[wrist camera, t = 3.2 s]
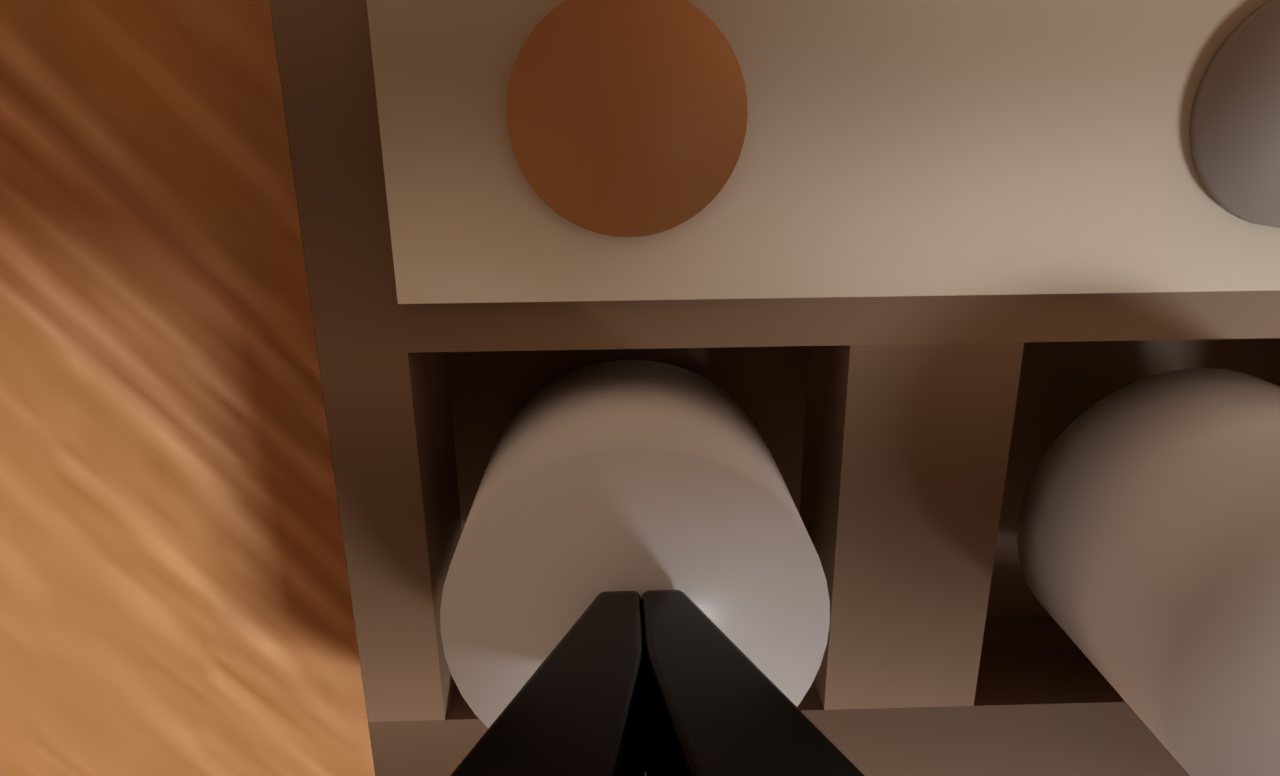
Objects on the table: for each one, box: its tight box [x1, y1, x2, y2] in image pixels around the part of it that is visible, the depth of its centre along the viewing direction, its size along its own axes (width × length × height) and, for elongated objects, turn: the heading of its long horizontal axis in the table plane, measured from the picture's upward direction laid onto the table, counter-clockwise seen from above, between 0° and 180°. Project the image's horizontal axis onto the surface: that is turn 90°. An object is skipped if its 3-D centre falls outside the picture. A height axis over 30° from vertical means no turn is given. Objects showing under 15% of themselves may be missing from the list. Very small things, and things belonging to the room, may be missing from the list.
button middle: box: [1017, 368, 1280, 776], centre depth 9 cm, size 4×4×3 cm
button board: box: [270, 0, 1280, 776], centre depth 11 cm, size 12×21×3 cm, turn 91°
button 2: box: [440, 360, 830, 729], centre depth 10 cm, size 4×4×3 cm
